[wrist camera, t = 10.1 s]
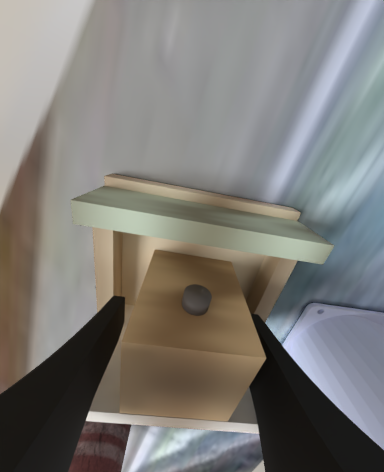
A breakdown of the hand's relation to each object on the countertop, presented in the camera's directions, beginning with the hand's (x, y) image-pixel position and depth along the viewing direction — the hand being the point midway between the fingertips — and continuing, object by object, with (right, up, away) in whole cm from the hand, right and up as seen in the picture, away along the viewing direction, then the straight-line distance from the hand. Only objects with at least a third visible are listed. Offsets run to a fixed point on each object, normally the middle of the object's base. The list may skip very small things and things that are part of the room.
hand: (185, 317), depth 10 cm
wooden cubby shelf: (0, +3, +2) cm, 4 cm away
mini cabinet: (0, +1, +2) cm, 2 cm away
